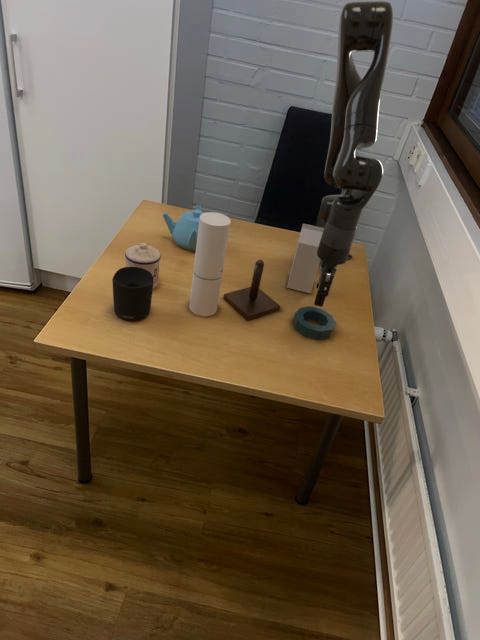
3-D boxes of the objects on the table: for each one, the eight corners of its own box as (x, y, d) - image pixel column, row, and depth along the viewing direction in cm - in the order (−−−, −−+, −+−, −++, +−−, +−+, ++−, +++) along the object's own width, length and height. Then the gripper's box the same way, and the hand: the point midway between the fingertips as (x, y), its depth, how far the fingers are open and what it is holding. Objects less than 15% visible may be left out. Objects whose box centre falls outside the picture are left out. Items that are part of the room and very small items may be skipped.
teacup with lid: (157, 293, 123) (160, 254, 116) (122, 290, 122) (122, 250, 115) (161, 270, 132) (163, 233, 126) (128, 266, 131) (129, 229, 124)
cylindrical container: (220, 305, 123) (235, 217, 109) (210, 319, 117) (224, 228, 103) (195, 297, 124) (206, 209, 110) (184, 310, 119) (194, 220, 104)
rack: (254, 289, 132) (263, 246, 124) (279, 310, 126) (290, 266, 118) (223, 298, 126) (230, 253, 118) (247, 320, 119) (257, 275, 112)
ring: (313, 310, 128) (315, 302, 127) (341, 333, 122) (344, 324, 120) (284, 320, 122) (286, 312, 121) (312, 344, 116) (315, 335, 114)
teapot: (189, 258, 140) (193, 226, 134) (159, 237, 148) (161, 205, 142) (226, 247, 150) (231, 216, 144) (196, 228, 158) (199, 198, 151)
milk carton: (310, 294, 135) (327, 234, 124) (286, 288, 136) (301, 228, 124) (312, 282, 141) (329, 224, 130) (289, 276, 141) (304, 218, 130)
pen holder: (104, 309, 114) (104, 274, 108) (135, 296, 120) (136, 262, 114) (128, 328, 110) (129, 292, 104) (159, 313, 116) (161, 279, 110)
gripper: (322, 225, 118) (307, 280, 127) (319, 249, 106) (302, 307, 116) (352, 232, 117) (334, 287, 127) (352, 257, 106) (332, 315, 115)
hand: (319, 296), depth 121 cm, fingers open, 8 cm apart
